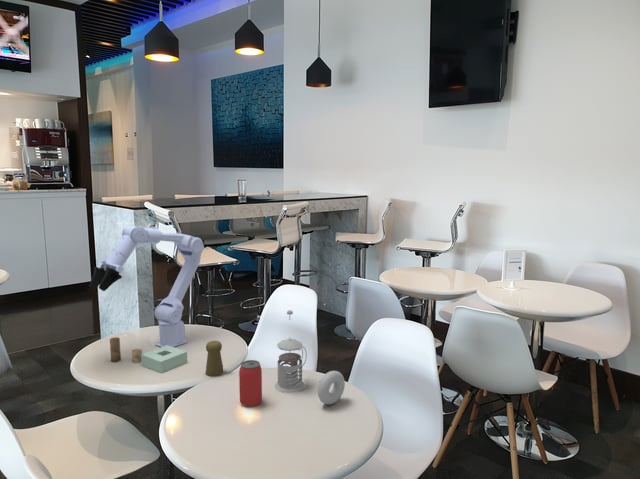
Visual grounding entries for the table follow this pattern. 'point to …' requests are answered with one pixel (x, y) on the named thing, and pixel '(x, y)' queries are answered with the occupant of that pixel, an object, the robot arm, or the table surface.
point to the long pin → (115, 349)
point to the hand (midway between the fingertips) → (96, 288)
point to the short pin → (136, 355)
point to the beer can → (250, 383)
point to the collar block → (164, 358)
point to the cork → (214, 359)
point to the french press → (285, 380)
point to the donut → (326, 384)
